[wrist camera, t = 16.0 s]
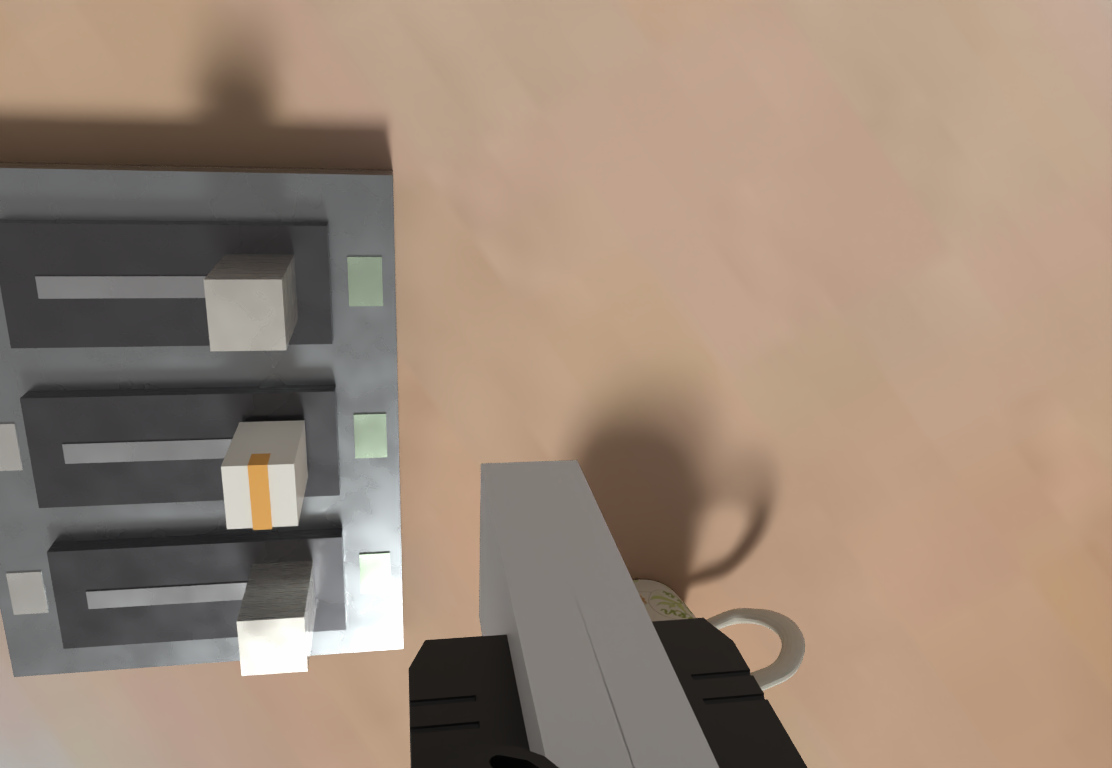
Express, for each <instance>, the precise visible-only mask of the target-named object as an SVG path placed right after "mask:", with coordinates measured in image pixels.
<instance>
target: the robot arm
mask: <svg viewBox="0 0 1112 768" xmlns="http://www.w3.org/2000/svg"><path fill="white" fill-rule="evenodd" d="M479 618H480V624H481V631H482V636H479V637H465V638H450V639H436V640H425V642H424V643H423V645H422V647H421V649H420V650H419V652H418V654H417V655H416V657H415V659H414V661H413V662H412V664H411V666H410V667H409V704H410V753H411V768H807V766H806V764H805V763H804V761H803V759H802V758H801V756H800V754H799V753H798V751H797V749H796V747H795V746H794V744H793V742H792V741H791V739H790V737H789V736H788V734H787V732H786V730H785V729H784V727H783V725H782V724H781V722H780V720H779V718H778V717H777V715H776V713H775V712H774V710H773V708H772V707H771V705H770V703H769V701H768V700H765V699H764V693H763V691H762V689H761V688H760V686H759V684H758V683H757V681H756V679H755V678H754V676H753V675H750V669H749V667H748V666H747V664H746V662H745V661H744V659H743V657H742V655H741V654H740V652H739V650H738V649H737V647H736V645H735V643H734V642H733V641H732V640H731V639H730V638H728V637H727V636H726V635H725V634H723V633H722V632H721V631H720V630H718V629H717V628H716V627H714V626H713V625H712V624H711V623H709V622H708V621H707V620H706V619H704V618H694V619H679V620H665V621H651V619H650V617H649V615H648V613H647V610H646V608H645V606H644V604H643V602H642V600H641V597H640V595H639V593H638V591H637V589H636V587H635V584H634V582H633V580H632V578H631V576H630V574H629V571H628V569H627V567H626V565H625V563H624V561H623V559H622V556H621V554H620V552H619V550H618V548H617V546H616V543H615V541H614V539H613V537H612V535H611V533H610V530H609V528H608V526H607V524H606V522H605V520H604V517H603V515H602V513H601V511H600V509H599V507H598V504H597V502H596V500H595V498H594V496H593V494H592V491H591V489H590V487H589V485H588V483H587V481H586V478H585V476H584V474H583V472H582V470H581V468H580V465H579V463H578V461H577V460H566V461H539V462H512V463H486V464H481V502H480V590H479Z"/></svg>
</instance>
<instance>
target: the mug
mask: <svg viewBox="0 0 1112 768" xmlns="http://www.w3.org/2000/svg"><path fill="white" fill-rule="evenodd" d="M633 582H634V584H635V587H636V589H637V591H638V593H639V595H640V597H641V600H642V602H643V604H644V606H645V608H646V610H647V613H648V615H649V617H650V619H651V621H665V620H679V619H694V618H696V617H695V616H694V615H693V613H692V612H691V611H690V610H689V608H688V607H687V606H686V605H685V604H684V602H683V601H682V600H681V599H680V598H679V596H678V595H677V594H676V593H675V592H674V591H673V590H672V589H670V588H669V587H668V586H666V585H664V584H662V583H660V582H657V581H653V580H645V579H643V580H633ZM707 621H708V622H709V623H711V624H712V625H713V626H714V627H716V628H717V629H721V628H724V627H727V626H730V625H733V624H740V623H751V624H758V625H762V626H765V627H767V628H769V629H771V630H773V631H774V632H775V633H776V634H778V635H779V637H780V639H781V642H782V649H781V652H780V654H779V656H778V658H777V659H776V661H775V662H774V663H773V664H771V665H770V666H768V667H766V668H763V669H760V670H758V671H755V672H752V673H750V675H753V676H754V678H755V679H756V681H757V683H758V684H759V686H760V688H761V689H762V691H763V690H766V689H768V688H771V687H773V686H776V685H778V684H780V683H782V682H784V681H786V680H788V679H789V678H791V677H792V676H793V675H794V674H795V673H796V671H797V670H798V668H799V666H800V664H801V662H802V660H803V656H804V652H805V641H804V637H803V634H802V632H801V631H800V629H799V627H798V626H797V625H796V624H795V622H793V621H792V620H791V619H790V618H788V617H786V616H784V615H782V614H780V613H777V612H774V611H771V610H764V609H751V608H738V609H732V610H729V611H726V612H723V613H721V614H718V615H716V616H714V617H711V618H709V619H707Z"/></svg>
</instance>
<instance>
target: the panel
mask: <svg viewBox="0 0 1112 768" xmlns="http://www.w3.org/2000/svg"><path fill="white" fill-rule="evenodd" d="M299 420H305V436H306V452H307V469H308V479H307V484H306V489H305V494H304V499H303V504H302V509H301V514H300V519H299V524H298V526H285V527H272V529H266V530H253V528H243V529H227V525H226V515H225V504H224V494H223V484H222V473H221V465H222V463H223V460H224V458H225V456H226V453H227V451H228V448H229V446H230V444H231V441H232V439H233V436H234V434H235V432H236V429H237V427H238V424H239V422H263V421H299ZM0 609H1V614H2V619H3V624H4V629H5V634H6V639H7V644H8V649H9V654H10V659H11V664H12V669H13V674H14V677H20V676H33V675H47V674H61V673H75V672H89V671H103V670H116V669H130V668H144V667H158V666H172V665H186V664H199V663H213V662H227V661H240V663H241V674H242V676H249V675H262V674H275V673H289V672H302V671H308V665H309V658H310V655H324V654H338V653H352V652H365V651H379V650H393V649H403V605H402V560H401V516H400V471H399V427H398V382H397V338H396V293H395V249H394V204H393V170H350V169H300V168H249V167H198V166H147V165H96V164H45V163H0Z"/></svg>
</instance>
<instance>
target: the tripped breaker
mask: <svg viewBox="0 0 1112 768" xmlns="http://www.w3.org/2000/svg"><path fill="white" fill-rule="evenodd" d="M221 473H222V484H223V494H224V504H225V515H226V525H227V529H243V528H253V530H266V529H272V527H285V526H298V524H299V519H300V514H301V509H302V504H303V499H304V494H305V489H306V484H307V479H308V469H307V452H306V436H305V420H299V421H263V422H239V424H238V427H237V429H236V432H235V434H234V436H233V439H232V441H231V444H230V446H229V448H228V451H227V453H226V456H225V458H224V460H223V463H222V465H221Z"/></svg>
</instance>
